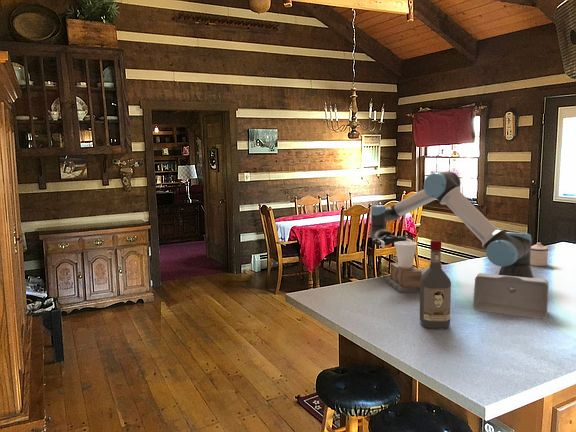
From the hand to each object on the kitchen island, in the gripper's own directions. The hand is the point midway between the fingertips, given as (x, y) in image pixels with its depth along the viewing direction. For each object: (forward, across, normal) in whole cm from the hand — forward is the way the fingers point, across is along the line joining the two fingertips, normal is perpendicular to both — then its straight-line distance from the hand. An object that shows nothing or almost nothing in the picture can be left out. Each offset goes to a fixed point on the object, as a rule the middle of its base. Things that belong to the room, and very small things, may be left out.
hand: (397, 244), depth 221 cm
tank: (+46, -28, -19) cm, 57 cm away
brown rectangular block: (+10, 0, -18) cm, 20 cm away
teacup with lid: (-18, -82, -18) cm, 86 cm away
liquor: (+58, +7, -18) cm, 62 cm away
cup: (+10, 0, -9) cm, 13 cm away
